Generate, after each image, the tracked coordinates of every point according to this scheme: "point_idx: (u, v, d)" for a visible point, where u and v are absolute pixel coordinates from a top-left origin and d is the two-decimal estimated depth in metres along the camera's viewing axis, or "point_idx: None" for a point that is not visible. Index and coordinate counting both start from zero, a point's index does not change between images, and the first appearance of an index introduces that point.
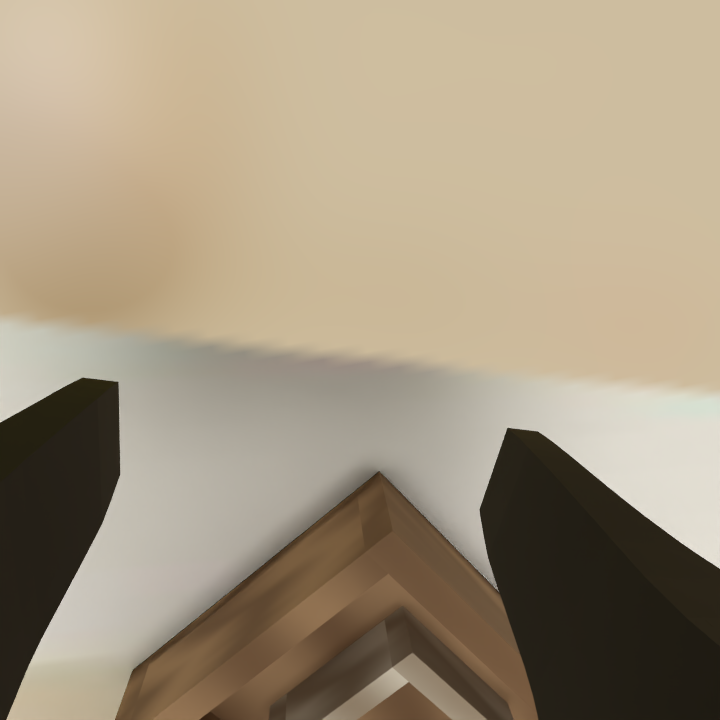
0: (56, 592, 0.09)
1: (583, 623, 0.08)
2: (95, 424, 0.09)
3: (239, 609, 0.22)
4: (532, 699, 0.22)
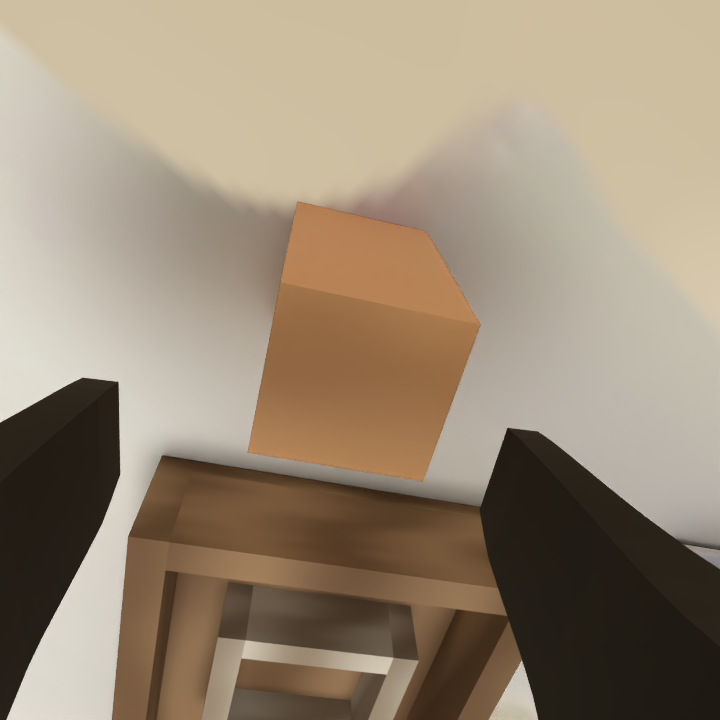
0: (56, 592, 0.09)
1: (583, 623, 0.08)
2: (95, 424, 0.09)
3: None
4: (138, 712, 0.21)
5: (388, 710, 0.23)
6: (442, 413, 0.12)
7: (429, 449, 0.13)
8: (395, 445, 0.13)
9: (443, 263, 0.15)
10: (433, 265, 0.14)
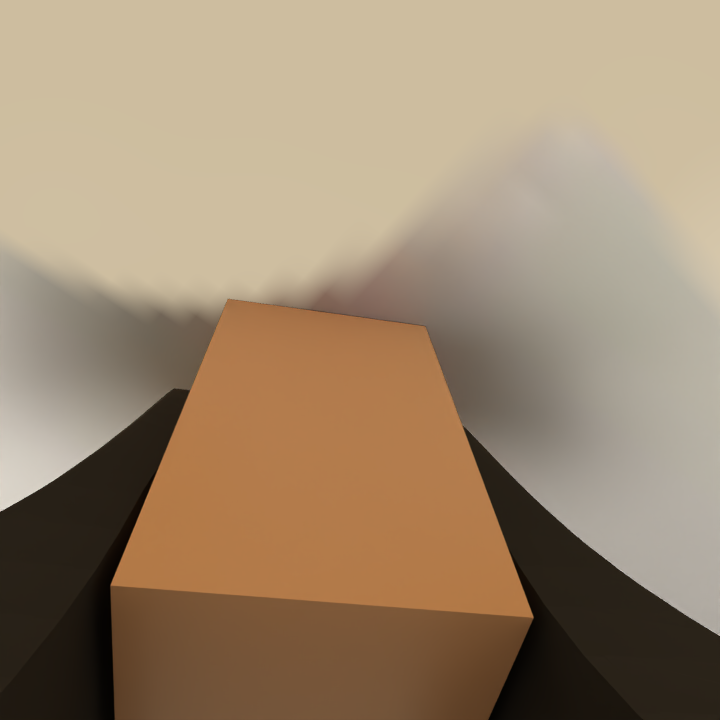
0: None
1: None
2: None
3: None
4: None
5: None
6: None
7: None
8: None
9: (452, 407, 0.09)
10: (435, 419, 0.09)
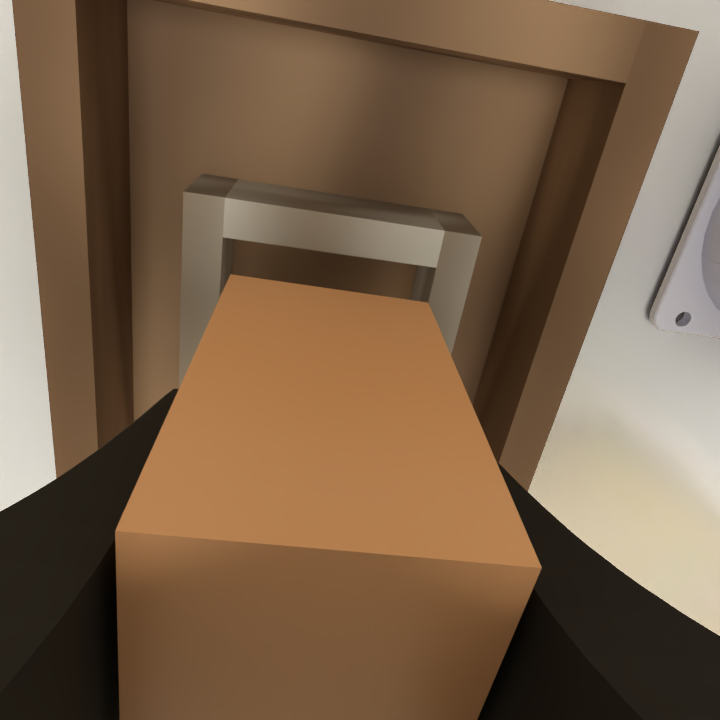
0: None
1: None
2: None
3: None
4: (79, 320, 0.15)
5: None
6: (473, 703, 0.07)
7: None
8: None
9: (456, 376, 0.09)
10: (440, 386, 0.09)
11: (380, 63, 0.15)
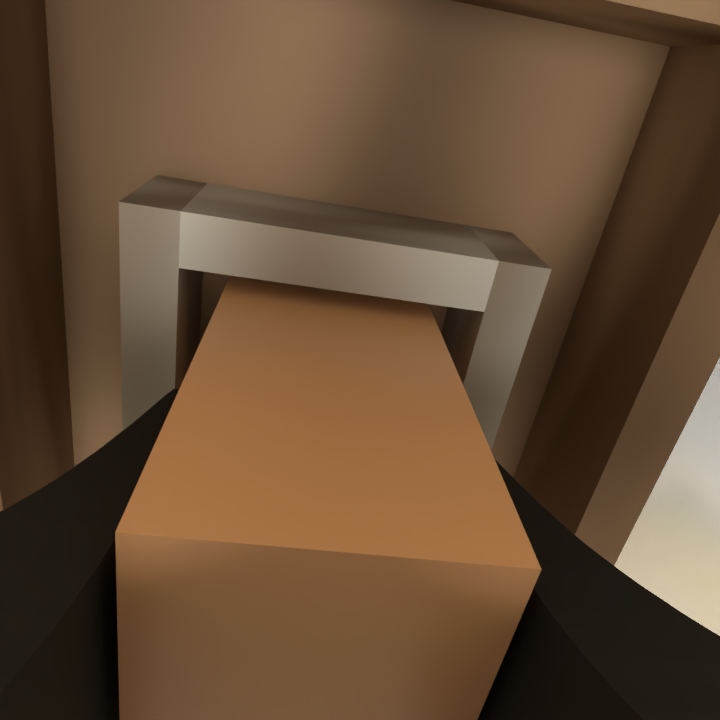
0: None
1: None
2: None
3: None
4: None
5: (487, 413, 0.12)
6: (473, 704, 0.07)
7: None
8: None
9: (456, 377, 0.09)
10: (440, 387, 0.09)
11: (406, 20, 0.11)
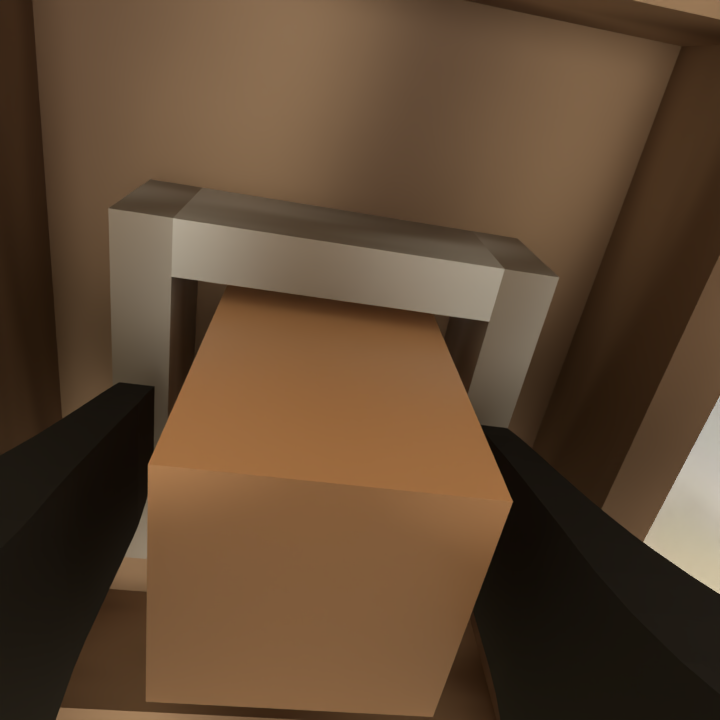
0: (98, 595, 0.09)
1: (541, 620, 0.08)
2: (135, 428, 0.09)
3: None
4: None
5: (491, 425, 0.12)
6: (456, 628, 0.07)
7: (439, 677, 0.08)
8: (384, 676, 0.08)
9: (445, 349, 0.10)
10: (430, 358, 0.10)
11: (408, 19, 0.10)
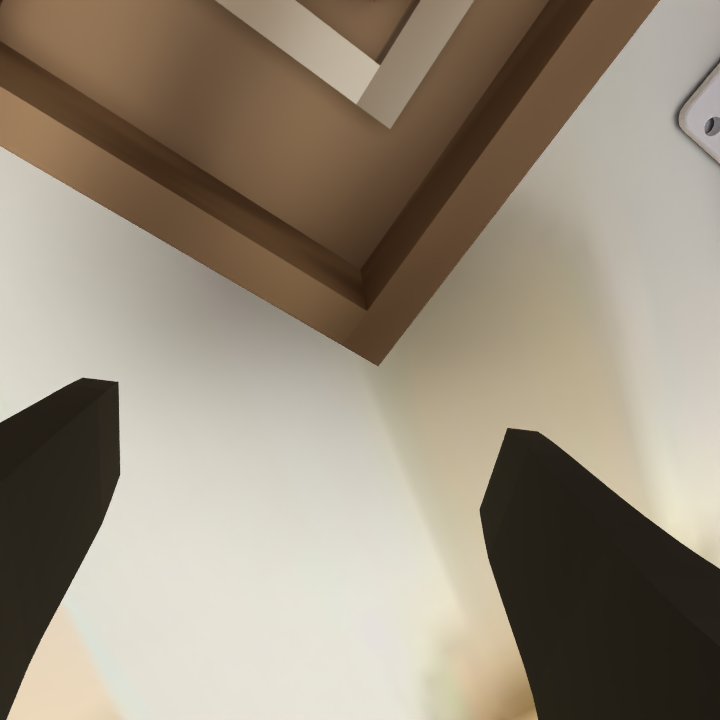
0: (56, 592, 0.09)
1: (583, 623, 0.08)
2: (95, 424, 0.09)
3: None
4: None
5: None
6: None
7: None
8: None
9: None
10: None
11: None
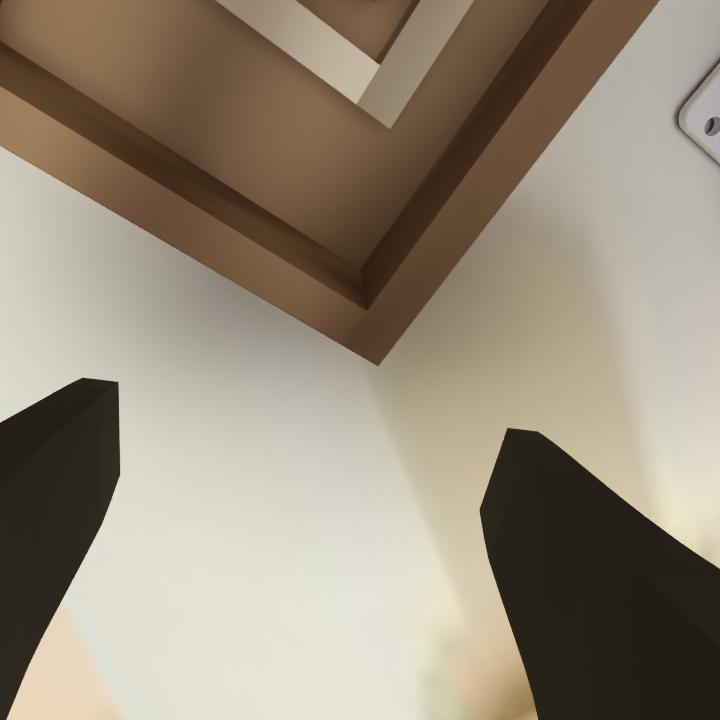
0: (56, 592, 0.09)
1: (583, 623, 0.08)
2: (95, 424, 0.09)
3: None
4: None
5: None
6: None
7: None
8: None
9: None
10: None
11: None
